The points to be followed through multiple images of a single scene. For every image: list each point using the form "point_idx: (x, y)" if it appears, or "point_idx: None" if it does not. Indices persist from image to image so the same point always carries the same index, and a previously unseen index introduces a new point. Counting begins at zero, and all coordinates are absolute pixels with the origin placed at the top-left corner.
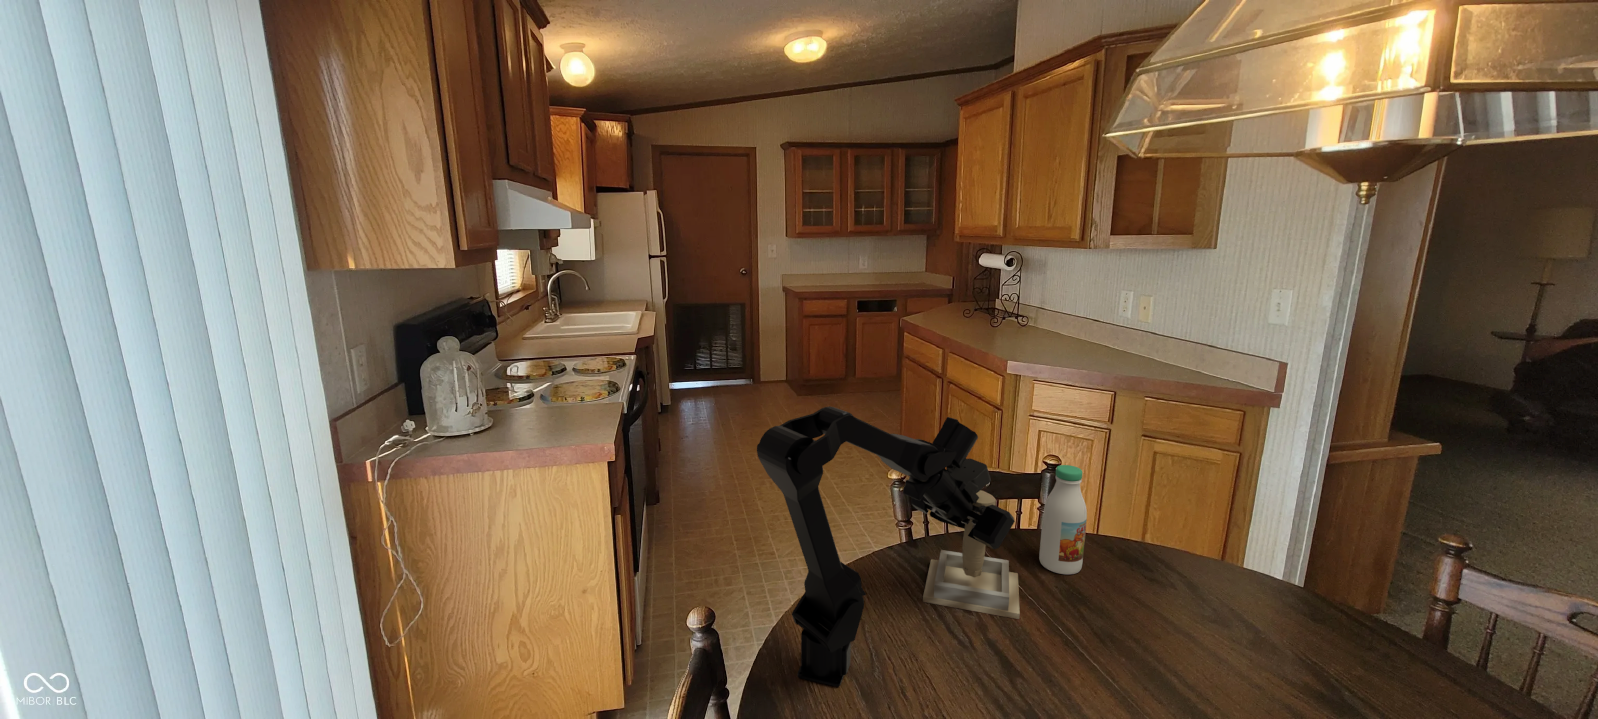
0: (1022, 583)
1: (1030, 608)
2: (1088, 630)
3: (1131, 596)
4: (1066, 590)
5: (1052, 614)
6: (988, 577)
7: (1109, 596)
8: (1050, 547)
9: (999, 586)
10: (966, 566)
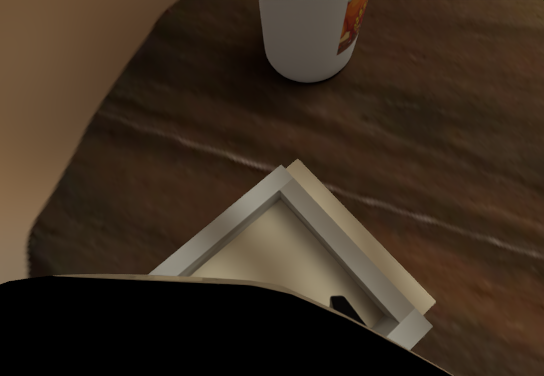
0: (318, 170)
1: (404, 236)
2: (524, 192)
3: (459, 25)
4: (386, 111)
5: (444, 211)
6: (272, 237)
7: (441, 58)
8: (318, 39)
9: (316, 244)
10: (270, 358)
